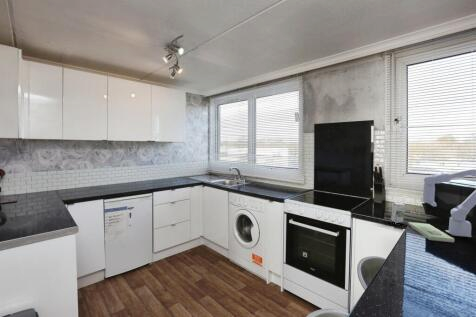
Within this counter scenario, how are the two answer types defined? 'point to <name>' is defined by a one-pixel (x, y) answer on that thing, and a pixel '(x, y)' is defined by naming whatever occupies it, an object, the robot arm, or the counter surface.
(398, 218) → the syrup box
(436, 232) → the golf ball
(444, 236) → the mat
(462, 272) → the counter surface
